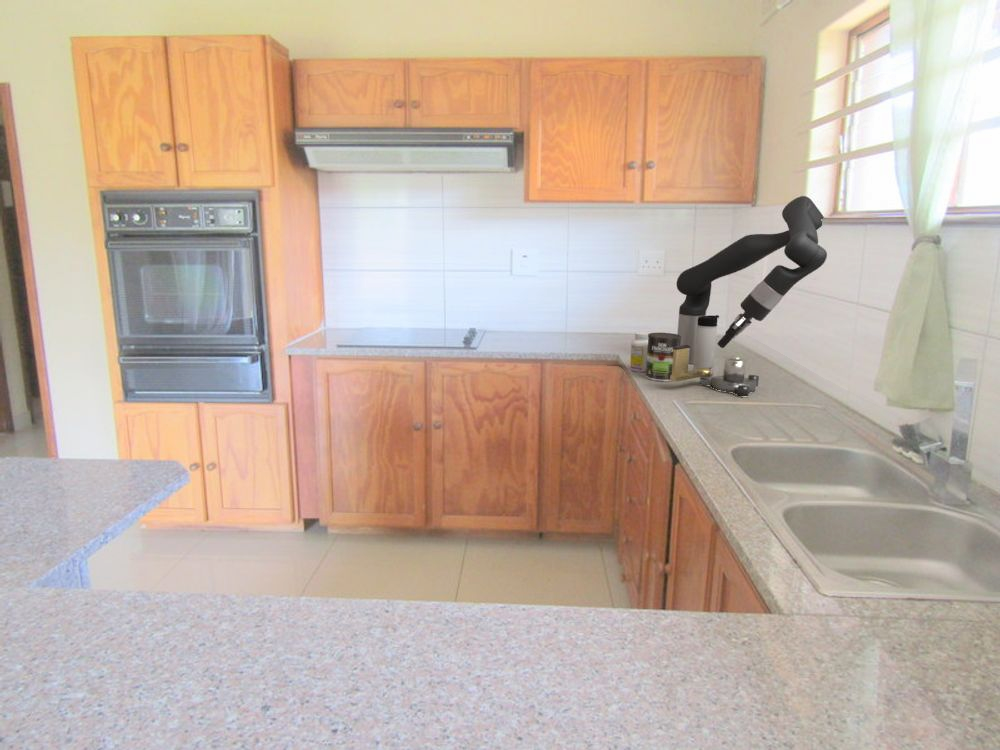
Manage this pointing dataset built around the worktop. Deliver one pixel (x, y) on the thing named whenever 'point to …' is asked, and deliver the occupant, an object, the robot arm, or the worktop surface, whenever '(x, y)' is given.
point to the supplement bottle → (639, 352)
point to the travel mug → (705, 342)
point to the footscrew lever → (685, 366)
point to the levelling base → (728, 385)
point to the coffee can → (661, 355)
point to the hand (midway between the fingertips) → (720, 345)
